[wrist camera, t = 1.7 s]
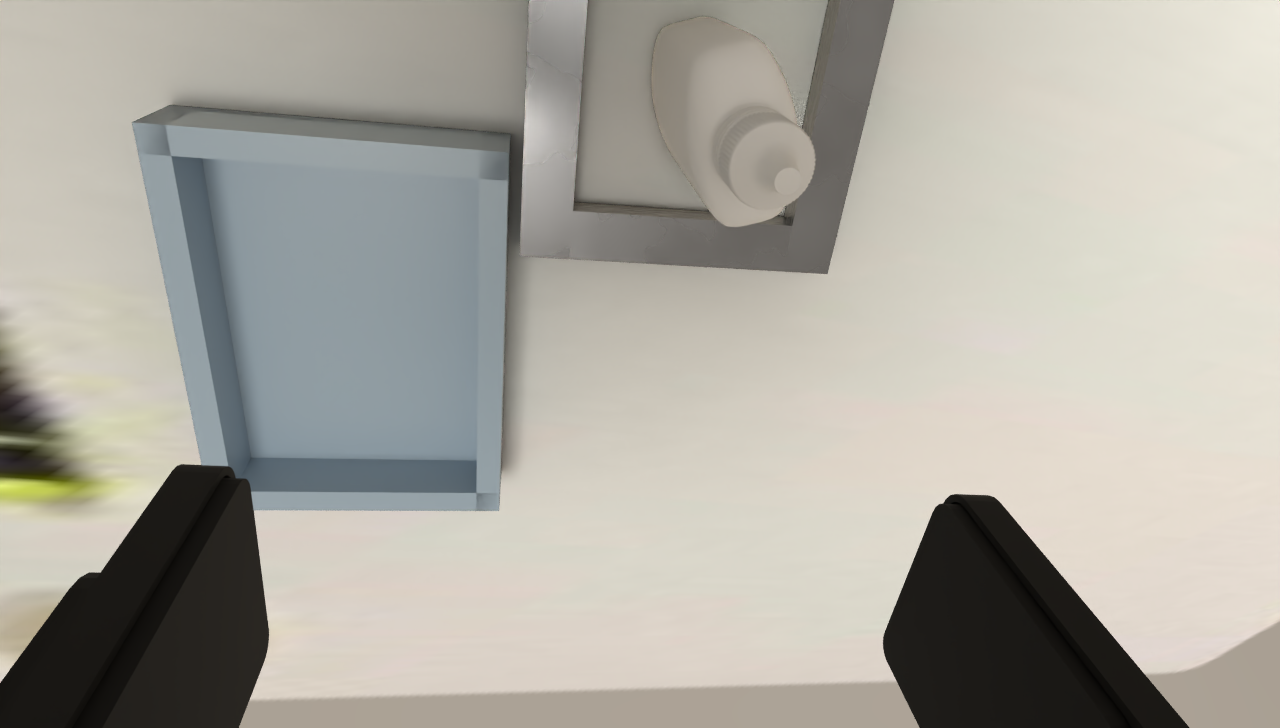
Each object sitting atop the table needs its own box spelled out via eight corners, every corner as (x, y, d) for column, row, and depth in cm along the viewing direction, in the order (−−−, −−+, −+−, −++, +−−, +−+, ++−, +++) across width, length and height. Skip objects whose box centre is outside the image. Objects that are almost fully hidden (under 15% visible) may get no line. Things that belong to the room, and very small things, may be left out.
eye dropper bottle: (773, 37, 28) (914, 93, 18) (723, 180, 31) (821, 301, 20) (665, 1, 27) (747, 37, 17) (621, 151, 30) (670, 263, 19)
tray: (170, 104, 27) (131, 122, 24) (510, 133, 29) (508, 152, 26) (235, 467, 34) (211, 509, 32) (501, 470, 36) (498, 511, 34)
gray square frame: (533, -127, 25) (533, -130, 24) (898, -76, 27) (913, -76, 26) (519, 245, 31) (519, 256, 30) (817, 263, 33) (827, 274, 32)
